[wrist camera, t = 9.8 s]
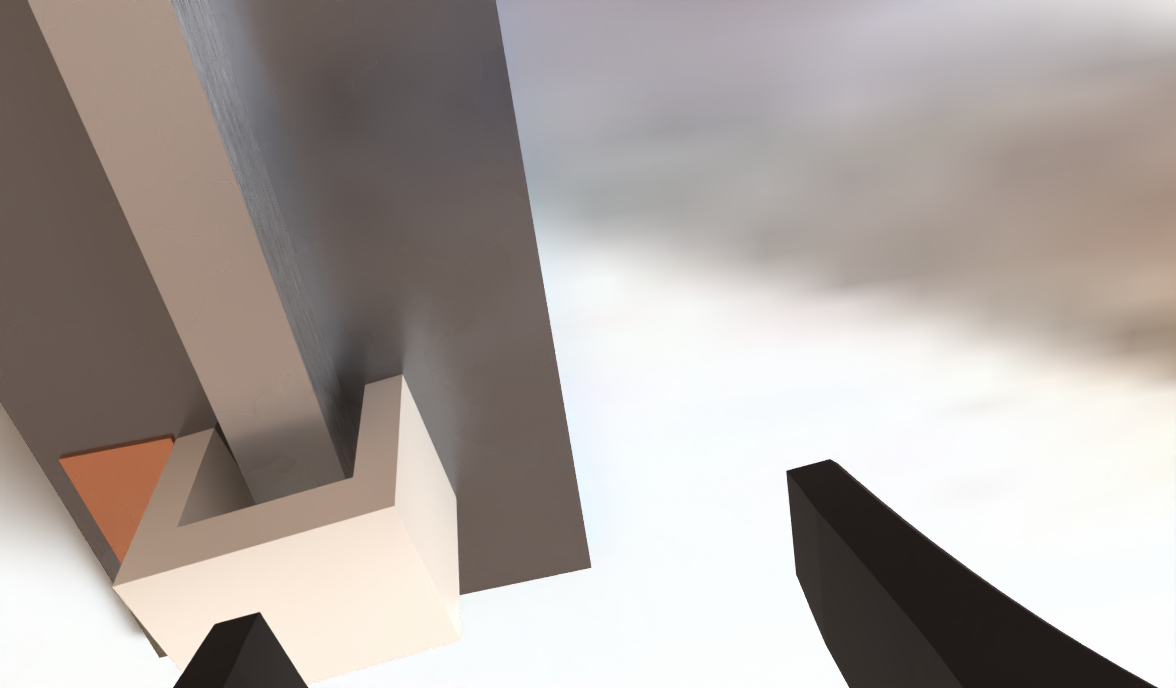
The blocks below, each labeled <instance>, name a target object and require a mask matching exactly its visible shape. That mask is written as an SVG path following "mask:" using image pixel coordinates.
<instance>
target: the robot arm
mask: <svg viewBox="0 0 1176 688" xmlns="http://www.w3.org/2000/svg"><path fill="white" fill-rule="evenodd" d="M786 473H787V483H788V494H789V504H790V514H791V525H792V535H793V546H794V556H795V566H796V575H797V577H798V580H799V582H800V585H801V587H802V589H803V592H804V594H805V597H806V599H807V602H808V604H809V607H810V609H811V611H812V614H813V616H814V618H815V621H816V623H817V625H818V628H819V630H820V632H821V635H822V637H823V639H824V642H825V644H826V646H827V648H828V650H829V651H830V653H831V655H832V657H833V659H834V661H835V662H836V664H837V666H838V668H839V670H840V672H841V673H842V675H843V677H844V679H845V681H846V682H847V684H848V686H849V688H1157V687H1156V686H1154V685H1152V684H1150V683H1148V682H1147V681H1145V680H1143V679H1141V678H1139V677H1137V676H1136V675H1134V674H1132V673H1130V672H1128V671H1127V670H1125V669H1123V668H1121V667H1120V666H1118V665H1116V664H1115V663H1113V662H1111V661H1110V660H1108V659H1106V658H1104V657H1103V656H1101V655H1099V654H1098V653H1096V652H1094V651H1093V650H1091V649H1089V648H1088V647H1086V646H1084V645H1082V644H1081V643H1079V642H1078V641H1076V640H1074V639H1073V638H1071V637H1070V636H1068V635H1066V634H1065V633H1063V632H1061V631H1060V630H1058V629H1057V628H1055V627H1054V626H1052V625H1051V624H1049V623H1047V622H1046V621H1044V620H1043V619H1041V618H1040V617H1038V616H1037V615H1035V614H1034V613H1032V612H1031V611H1029V610H1028V609H1026V608H1025V607H1023V606H1022V605H1020V604H1019V603H1017V602H1016V601H1014V600H1013V599H1011V598H1010V597H1008V596H1007V595H1005V594H1004V593H1002V592H1001V591H999V590H998V589H997V588H995V587H994V586H992V585H991V584H989V583H988V582H987V581H985V580H984V579H982V578H981V577H980V576H978V575H977V574H975V573H974V572H973V571H971V570H970V569H969V568H967V567H966V566H965V565H963V564H962V563H961V562H959V561H958V560H956V559H955V558H954V557H952V556H951V555H950V554H948V553H947V552H946V551H944V550H943V549H942V548H940V547H939V546H938V545H936V544H935V543H934V542H932V541H931V540H930V539H928V538H927V537H926V536H925V535H923V534H922V533H921V532H919V531H918V530H917V529H916V528H914V527H913V526H912V525H911V524H909V523H908V522H907V521H906V520H904V519H903V518H902V517H901V516H899V515H898V514H897V513H896V512H894V511H893V510H892V509H891V508H890V507H888V506H887V505H886V504H885V503H883V502H882V501H881V500H880V499H879V498H877V497H876V496H875V495H874V494H873V493H871V492H870V491H869V490H868V489H867V488H866V487H864V486H863V485H862V484H861V483H860V482H859V481H857V480H856V479H855V478H854V477H853V476H852V475H850V474H849V473H848V472H847V471H846V470H845V469H844V468H842V467H841V466H840V465H839V464H838V463H836V462H834V461H832V460H831V459H829V460H825V461H821V462H818V463H814V464H810V465H806V466H803V467H799V468H795V469H791V470H788V471H786ZM173 688H308V687H307V685H306V683H305V682H304V680H303V679H302V677H301V676H300V674H299V672H298V671H297V669H296V668H295V666H294V665H293V663H292V661H291V660H290V658H289V657H288V655H287V654H286V652H285V650H284V649H283V647H282V646H281V644H280V643H279V641H278V640H277V638H276V636H275V635H274V633H273V632H272V630H271V629H270V627H269V625H268V624H267V622H266V621H265V619H264V618H263V616H262V614H261V613H260V612H257V613H253V614H250V615H246V616H242V617H238V618H235V619H231V620H227V621H223V622H220V623H216V624H214V626H213V627H212V629H211V630H210V632H209V633H208V635H207V636H206V638H205V639H204V641H203V642H202V644H201V645H200V647H199V648H198V650H197V651H196V653H195V654H194V656H193V658H192V659H191V661H190V662H189V664H188V665H187V667H186V669H185V670H184V672H183V673H182V675H181V676H180V678H179V680H178V681H177V683H176V684H175V686H174V687H173Z"/></svg>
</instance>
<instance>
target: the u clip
mask: <svg viewBox="0 0 1176 688" xmlns="http://www.w3.org/2000/svg"><path fill="white" fill-rule="evenodd" d="M112 588H113V589H114V590H115V591H116V593H117V594H118V595H119V596H120V598H121V599H122V600H123V601H124V602H125V604H126V605H127V606H128V607H129V609H130V610H131V611H132V612H133V614H134V615H135V616H136V617H137V618H138V620H139V621H140V622H141V623H142V625H143V626H144V627H145V628H146V629H147V631H148V632H149V633H150V634H151V636H152V637H153V638H154V639H155V641H156V642H157V643H158V644H159V645H160V647H161V648H162V649H163V650H164V652H165V653H166V654H167V655H168V657H169V658H170V659H171V660H172V661H173V663H174V664H175V665H176V666H177V668H178V669H179V670H180V671H181V673H183V672H184V670H185V669H186V667H187V665H188V664H189V662H190V661H191V659H192V658H193V656H194V654H195V653H196V651H197V650H198V648H199V647H200V645H201V644H202V642H203V641H204V639H205V638H206V636H207V635H208V633H209V632H210V630H211V629H212V627H213V626H214V624H216V623H220V622H223V621H227V620H231V619H235V618H238V617H242V616H246V615H250V614H253V613H257V612H260V613H261V614H262V616H263V618H264V619H265V621H266V622H267V624H268V625H269V627H270V629H271V630H272V632H273V633H274V635H275V636H276V638H277V640H278V641H279V643H280V644H281V646H282V647H283V649H284V650H285V652H286V654H287V655H288V657H289V658H290V660H291V661H292V663H293V665H294V666H295V668H296V669H297V671H298V672H299V674H300V676H301V677H302V679H303V680H304V682H305V683H306V685H308V684H312V683H315V682H319V681H322V680H326V679H329V678H332V677H336V676H339V675H343V674H346V673H350V672H353V671H357V670H360V669H364V668H367V667H370V666H374V665H377V664H381V663H384V662H388V661H391V660H395V659H398V658H401V657H405V656H408V655H412V654H415V653H419V652H422V651H426V650H429V649H433V648H436V647H439V646H443V645H446V644H450V643H453V642H457V641H460V640H461V625H460V595H459V565H458V535H457V505H456V496H455V494H454V491H453V489H452V487H451V484H450V482H449V480H448V478H447V475H446V473H445V471H444V468H443V466H442V464H441V461H440V459H439V457H438V455H437V452H436V450H435V448H434V445H433V443H432V441H431V438H430V436H429V434H428V432H427V429H426V427H425V425H424V422H423V420H422V418H421V415H420V413H419V411H418V409H417V406H416V404H415V402H414V399H413V397H412V395H411V392H410V390H409V388H408V386H407V383H406V381H405V379H404V376H403V374H401V375H398V376H394V377H391V378H387V379H384V380H380V381H377V382H373V383H370V384H366V385H365V389H364V396H363V404H362V412H361V420H360V427H359V435H358V443H357V451H356V459H355V466H354V474H353V477H352V478H349V479H345V480H342V481H338V482H335V483H331V484H328V485H324V486H321V487H317V488H314V489H310V490H307V491H304V492H300V493H297V494H293V495H290V496H286V497H283V498H279V499H276V500H272V501H269V502H265V503H262V504H258V505H256V504H255V501H254V499H253V497H252V495H251V492H250V490H249V488H248V486H247V484H246V481H245V479H244V477H243V475H242V473H241V470H240V469H239V467H238V465H237V464H236V462H235V461H234V459H233V457H232V456H231V454H230V452H229V451H228V449H227V448H226V446H225V444H224V443H223V441H222V439H221V438H220V436H219V435H218V433H217V431H216V430H215V428H212V429H208V430H205V431H201V432H198V433H194V434H191V435H187V436H184V437H180V438H177V439H176V441H175V443H174V446H173V448H172V450H171V452H170V455H169V457H168V459H167V462H166V464H165V466H164V469H163V471H162V473H161V475H160V478H159V480H158V482H157V485H156V487H155V489H154V492H153V494H152V496H151V498H150V501H149V503H148V505H147V508H146V510H145V512H144V515H143V517H142V519H141V521H140V524H139V526H138V528H137V531H136V533H135V535H134V537H133V540H132V542H131V544H130V547H129V549H128V551H127V554H126V556H125V558H124V560H123V563H122V565H121V567H120V570H119V572H118V574H117V577H116V579H115V581H114V583H113V586H112Z"/></svg>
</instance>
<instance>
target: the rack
mask: <svg viewBox="0 0 1176 688" xmlns="http://www.w3.org/2000/svg"><path fill="white" fill-rule="evenodd" d="M401 374H403V376H404V379H405V381H406V383H407V386H408V388H409V390H410V392H411V395H412V397H413V399H414V402H415V404H416V406H417V409H418V411H419V413H420V415H421V418H422V420H423V422H424V425H425V427H426V429H427V432H428V434H429V436H430V438H431V441H432V443H433V445H434V448H435V450H436V452H437V455H438V457H439V459H440V461H441V464H442V466H443V468H444V471H445V473H446V475H447V478H448V480H449V482H450V484H451V487H452V489H453V491H454V494H455V496H456V505H457V535H458V565H459V595H462V594H467V593H472V592H477V591H482V590H486V589H491V588H496V587H501V586H506V585H510V584H515V583H520V582H525V581H530V580H534V579H539V578H544V577H549V576H554V575H558V574H563V573H568V572H573V571H578V570H582V569H587V568H591V562H590V556H589V550H588V545H587V539H586V533H585V527H584V521H583V515H582V509H581V503H580V497H579V491H578V485H577V479H576V474H575V468H574V462H573V456H572V450H571V444H570V438H569V432H568V426H567V420H566V414H565V409H564V403H563V397H562V391H561V385H560V379H559V373H558V367H557V361H556V355H555V349H554V343H553V338H552V332H551V326H550V320H549V314H548V308H547V302H546V296H545V290H544V284H543V278H542V272H541V267H540V261H539V255H538V249H537V243H536V237H535V231H534V225H533V219H532V213H531V207H530V202H529V196H528V190H527V184H526V178H525V172H524V166H523V160H522V154H521V148H520V142H519V136H518V131H517V125H516V119H515V113H514V107H513V101H512V95H511V89H510V83H509V77H508V71H507V65H506V60H505V54H504V48H503V42H502V36H501V30H500V24H499V18H498V12H497V6H496V0H0V401H1V403H2V405H3V406H4V408H5V409H6V411H7V413H8V414H9V416H10V418H11V419H12V421H13V422H14V424H15V426H16V427H17V429H18V430H19V432H20V434H21V435H22V437H23V439H24V440H25V442H26V443H27V445H28V447H29V448H30V450H31V451H32V453H33V455H34V456H35V458H36V459H37V461H38V463H39V464H40V466H41V468H42V469H43V471H44V472H45V474H46V476H47V477H48V479H49V480H50V482H51V484H52V485H53V487H54V488H55V490H56V492H57V493H58V495H59V497H60V498H61V500H62V501H63V503H64V505H65V506H66V508H67V509H68V511H69V513H70V514H71V516H72V517H73V519H74V521H75V522H76V524H77V526H78V527H79V529H80V530H81V532H82V534H83V535H84V537H85V538H86V540H87V542H88V543H89V545H90V546H91V548H92V550H93V551H94V553H95V555H96V556H97V558H98V559H99V561H100V563H101V564H102V566H103V567H104V569H105V571H106V572H107V574H108V576H109V577H110V579H111V580H112V582H113V583H114V581H115V579H116V577H117V574H118V572H119V570H120V567H121V565H122V563H123V560H124V558H125V556H126V554H127V551H128V549H129V547H130V544H131V542H132V540H133V537H134V535H135V533H136V531H137V528H138V526H139V524H140V521H141V519H142V517H143V515H144V512H145V510H146V508H147V505H148V503H149V501H150V498H151V496H152V494H153V492H154V489H155V487H156V485H157V482H158V480H159V478H160V475H161V473H162V471H163V469H164V466H165V464H166V462H167V459H168V457H169V455H170V452H171V450H172V448H173V446H174V443H175V441H176V439H177V438H180V437H184V436H187V435H191V434H194V433H198V432H201V431H205V430H208V429H212V428H215V430H216V431H217V433H218V435H219V436H220V438H221V439H222V441H223V443H224V444H225V446H226V448H227V449H228V451H229V452H230V454H231V456H232V457H233V459H234V461H235V462H236V464H237V465H238V467H239V469H240V470H241V473H242V475H243V477H244V479H245V481H246V484H247V486H248V488H249V490H250V492H251V495H252V497H253V499H254V501H255V504H256V505H258V504H262V503H265V502H269V501H272V500H276V499H279V498H283V497H286V496H290V495H293V494H297V493H300V492H304V491H307V490H310V489H314V488H317V487H321V486H324V485H328V484H331V483H335V482H338V481H342V480H345V479H349V478H352V477H353V474H354V466H355V459H356V451H357V443H358V435H359V427H360V420H361V412H362V404H363V396H364V389H365V385H366V384H370V383H373V382H377V381H380V380H384V379H387V378H391V377H394V376H398V375H401ZM128 608H129V607H128ZM130 611H131V610H130ZM131 613H132V614H133V612H132V611H131ZM133 616H134V617H135V619H136V621H137V622H138V624H139V625H140V627H141V629H142V630H143V632H144V634H145V635H146V637H147V638H148V640H149V642H150V643H151V645H152V646H153V648H154V650H155V651H156V653H157V654H158V656H159V658H160V657H165V656H168V655H167V654H166V653H165V652H164V650H163V649H162V648H161V647H160V645H159V644H158V643H157V642H156V641H155V639H154V638H153V637H152V636H151V634H150V633H149V632H148V631H147V629H146V628H145V627H144V626H143V625H142V623H141V622H140V621H139V620H138V618H137V617H136V616H135V615H134V614H133Z"/></svg>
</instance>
